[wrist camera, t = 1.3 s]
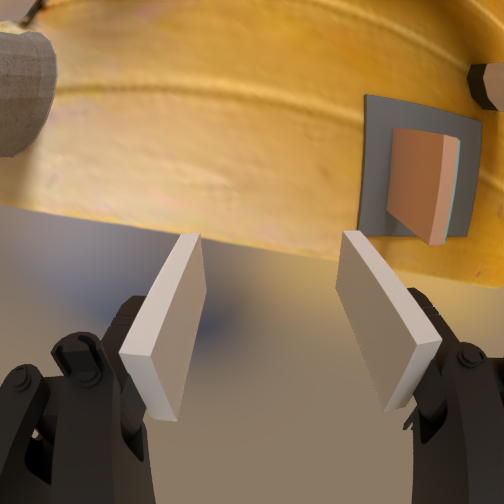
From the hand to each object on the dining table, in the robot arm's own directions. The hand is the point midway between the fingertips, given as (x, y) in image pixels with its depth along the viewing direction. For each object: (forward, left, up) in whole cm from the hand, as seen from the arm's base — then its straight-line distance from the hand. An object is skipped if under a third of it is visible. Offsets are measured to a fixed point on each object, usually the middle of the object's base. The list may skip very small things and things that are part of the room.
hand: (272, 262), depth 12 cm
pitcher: (+29, -40, -27) cm, 56 cm away
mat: (-21, +13, -27) cm, 37 cm away
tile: (-16, +10, -26) cm, 32 cm away
